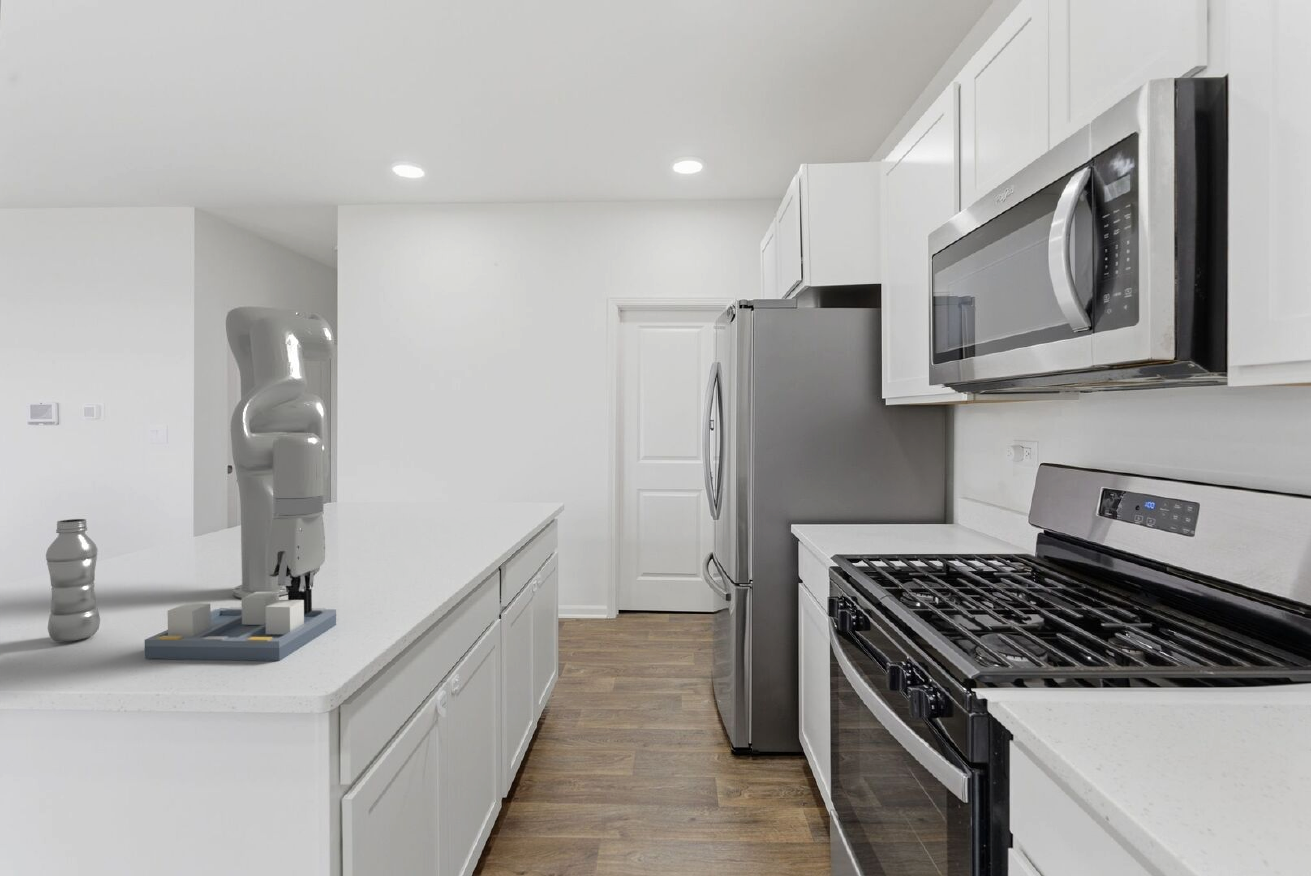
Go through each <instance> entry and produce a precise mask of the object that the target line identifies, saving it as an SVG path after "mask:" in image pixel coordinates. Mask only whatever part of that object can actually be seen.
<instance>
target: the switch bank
mask: <svg viewBox="0 0 1311 876" xmlns="http://www.w3.org/2000/svg"><path fill="white" fill-rule="evenodd" d="M210 612H211V629H209V630H207V631H205V632H203V633H201V634H198V635H196V636H194V637H184V636H168V629H166V630H164V631H162V632H159V633H157V634H155V635H152V636H149V637H147V638H145V639H144V659H145V658H163V659H162V660H196V661H198V660H199V661H200V660H201V661H204V660H205V661H210V660H211V661H265V662H266V661H269V662H270V661H271V662H272V661H273V662H274V661H275V662H276V661H277V662H278V661H279V662H280V661H281V660H283V659H285V658H286V657H287V656H289V655H292V654H293V653H294V652H295V651H297V650H298V649H299V650H300V648H302V647H304V646H305V645H306V644H308V643H310V642H311V641H313V640H315V639H316V638H318V637H319V636H320V635H322V634H324V633H325V632H327V631H329V630H330V629H332V628H333V627H335V626H336V625H337V609H331V608H328V609H327V608H326V607H325V608H324V607H323V608H321V607H320V608H319V607H318V608H317V607H316V608H315V607H314V608H313V607H312V611H311V612H309V613H307V614H305V615H304V624H302V625H301V626H299V627H297V628H295V629H294V630H292V631H290V632H288V633H287V634H266V623H265V624H263V625H245V624H242V606H241V607H240V606H239V607H238V606H237V607H236V606H234V607H233V606H231V607H220V608H218V609H216V608H215V609H213V610H210Z"/></svg>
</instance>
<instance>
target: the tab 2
mask: <svg viewBox="0 0 1311 876" xmlns="http://www.w3.org/2000/svg"><path fill="white" fill-rule="evenodd" d="M279 600H280V596H279V592H255V593H253V594H250V595H248V596H246V597H243V598H241V607H242V624H245V625H263V624H265V623H266V613H265V607H266V606H268V605H270V604H272V603H275V602H277V601H279Z"/></svg>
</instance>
